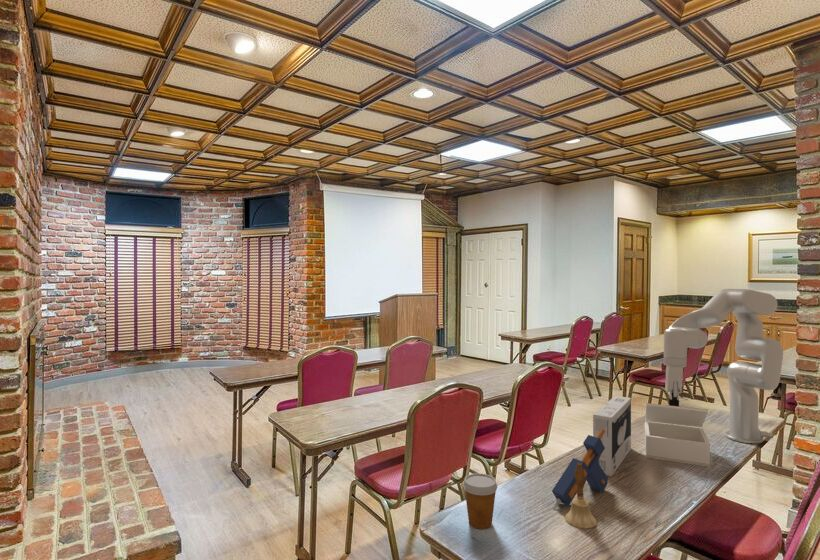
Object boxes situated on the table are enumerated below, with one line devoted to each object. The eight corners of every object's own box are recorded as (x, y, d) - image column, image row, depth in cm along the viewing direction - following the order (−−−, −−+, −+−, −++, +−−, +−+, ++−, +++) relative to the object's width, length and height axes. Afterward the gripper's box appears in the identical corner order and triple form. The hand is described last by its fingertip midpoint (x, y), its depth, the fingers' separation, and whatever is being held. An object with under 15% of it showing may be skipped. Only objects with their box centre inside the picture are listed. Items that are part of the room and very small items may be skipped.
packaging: (611, 476, 155) (611, 417, 154) (592, 471, 158) (592, 414, 158) (631, 448, 179) (631, 397, 179) (614, 445, 183) (614, 395, 182)
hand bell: (576, 530, 122) (576, 471, 122) (559, 514, 131) (559, 459, 130) (603, 526, 124) (603, 468, 124) (584, 511, 132) (584, 456, 132)
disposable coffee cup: (504, 522, 127) (504, 479, 127) (485, 537, 120) (485, 491, 120) (475, 510, 133) (475, 469, 133) (456, 524, 126) (455, 480, 126)
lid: (701, 427, 178) (701, 424, 178) (708, 411, 164) (707, 409, 165) (645, 420, 186) (645, 418, 187) (646, 405, 172) (646, 402, 173)
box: (702, 449, 178) (702, 428, 178) (709, 466, 162) (709, 444, 161) (644, 441, 186) (644, 421, 186) (646, 457, 170) (646, 436, 170)
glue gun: (564, 533, 139) (545, 502, 134) (604, 452, 155) (588, 422, 150) (582, 541, 134) (563, 509, 129) (621, 457, 150) (605, 426, 145)
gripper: (662, 357, 181) (661, 403, 181) (664, 363, 168) (663, 413, 168) (684, 359, 178) (683, 406, 178) (688, 365, 165) (687, 416, 165)
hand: (673, 409), depth 173 cm, fingers closed
